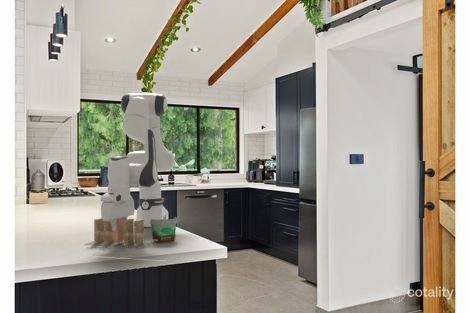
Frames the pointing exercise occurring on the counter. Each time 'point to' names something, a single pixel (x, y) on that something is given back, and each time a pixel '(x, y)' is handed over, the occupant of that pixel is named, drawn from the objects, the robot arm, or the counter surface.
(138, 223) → the maple domino
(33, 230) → the counter surface
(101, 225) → the maple domino
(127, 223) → the maple domino
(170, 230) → the food container
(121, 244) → the flat board
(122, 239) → the terracotta domino
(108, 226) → the maple domino
